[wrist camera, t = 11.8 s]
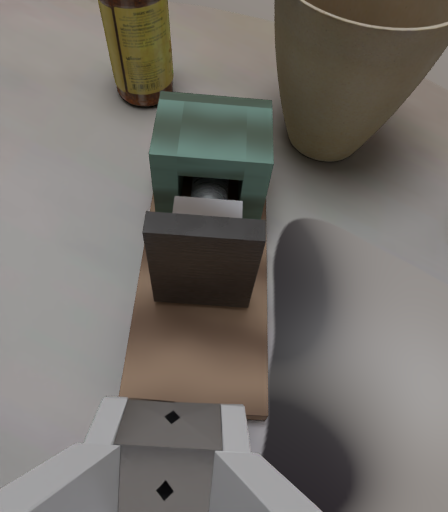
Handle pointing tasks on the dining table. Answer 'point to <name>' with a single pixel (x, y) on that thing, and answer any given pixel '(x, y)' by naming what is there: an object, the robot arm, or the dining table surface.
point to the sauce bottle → (139, 48)
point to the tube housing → (180, 201)
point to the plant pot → (351, 66)
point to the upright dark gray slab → (203, 253)
